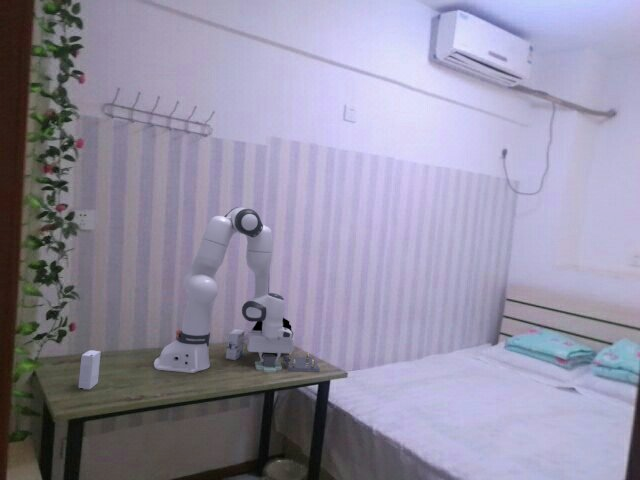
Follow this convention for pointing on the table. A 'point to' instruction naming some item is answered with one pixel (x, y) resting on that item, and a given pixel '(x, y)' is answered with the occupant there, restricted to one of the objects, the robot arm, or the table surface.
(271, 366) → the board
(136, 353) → the table surface
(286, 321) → the coal bowl
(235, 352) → the ink box
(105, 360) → the table surface
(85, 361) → the skincare box
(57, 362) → the table surface
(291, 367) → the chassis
